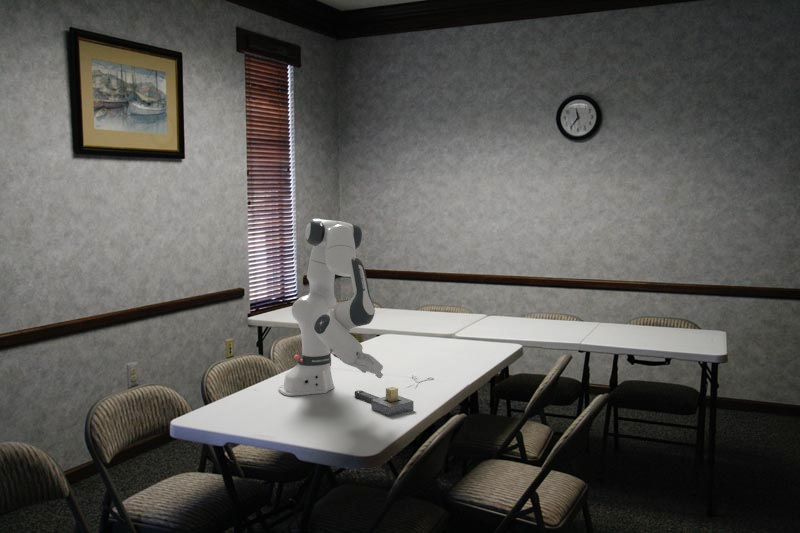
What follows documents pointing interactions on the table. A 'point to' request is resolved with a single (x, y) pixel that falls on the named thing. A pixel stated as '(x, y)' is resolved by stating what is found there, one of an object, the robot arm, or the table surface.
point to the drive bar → (391, 394)
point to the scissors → (420, 381)
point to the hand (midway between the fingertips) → (373, 373)
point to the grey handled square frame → (386, 404)
